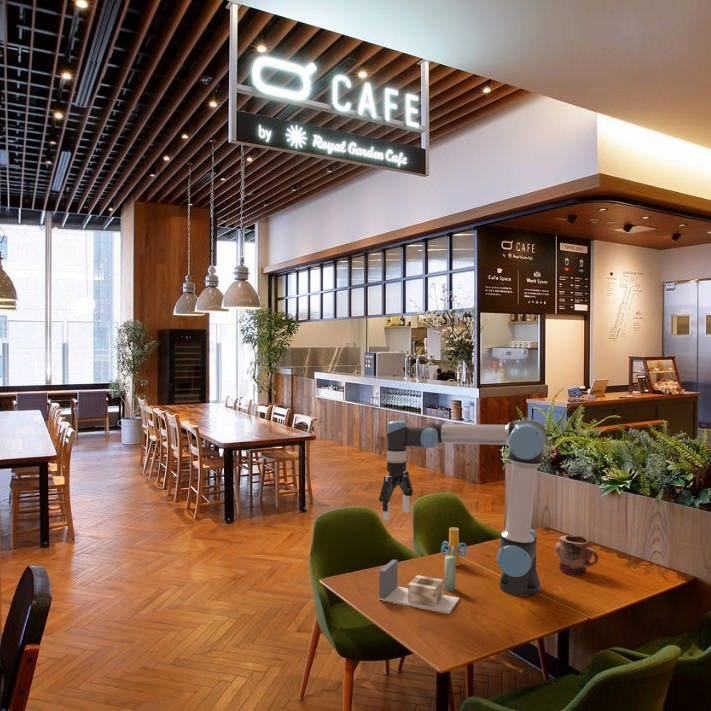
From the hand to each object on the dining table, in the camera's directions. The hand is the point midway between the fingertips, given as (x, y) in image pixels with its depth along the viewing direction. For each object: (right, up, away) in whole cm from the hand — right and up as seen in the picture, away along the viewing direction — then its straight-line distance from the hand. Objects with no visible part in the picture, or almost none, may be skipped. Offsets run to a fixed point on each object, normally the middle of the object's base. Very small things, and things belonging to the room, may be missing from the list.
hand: (396, 515), depth 238 cm
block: (+9, -26, -17) cm, 33 cm away
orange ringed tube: (+26, -26, +22) cm, 43 cm away
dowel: (+20, -26, -5) cm, 33 cm away
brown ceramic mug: (+74, -27, +12) cm, 80 cm away
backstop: (+7, -26, -16) cm, 32 cm away
